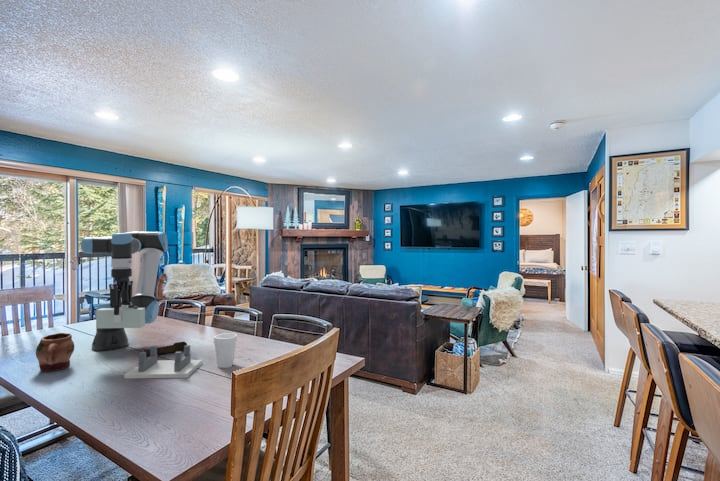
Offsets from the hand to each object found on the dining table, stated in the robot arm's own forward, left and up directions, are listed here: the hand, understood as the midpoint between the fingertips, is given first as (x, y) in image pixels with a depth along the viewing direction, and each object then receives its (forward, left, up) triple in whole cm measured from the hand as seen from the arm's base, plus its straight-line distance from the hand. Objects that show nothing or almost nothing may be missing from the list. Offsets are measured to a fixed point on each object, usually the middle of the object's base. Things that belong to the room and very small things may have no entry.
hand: (121, 320), depth 155 cm
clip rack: (+10, +24, -19) cm, 32 cm away
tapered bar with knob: (0, 0, -3) cm, 3 cm away
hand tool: (-13, +13, -19) cm, 27 cm away
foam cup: (+5, +47, -19) cm, 51 cm away
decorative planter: (+7, -22, -19) cm, 30 cm away
